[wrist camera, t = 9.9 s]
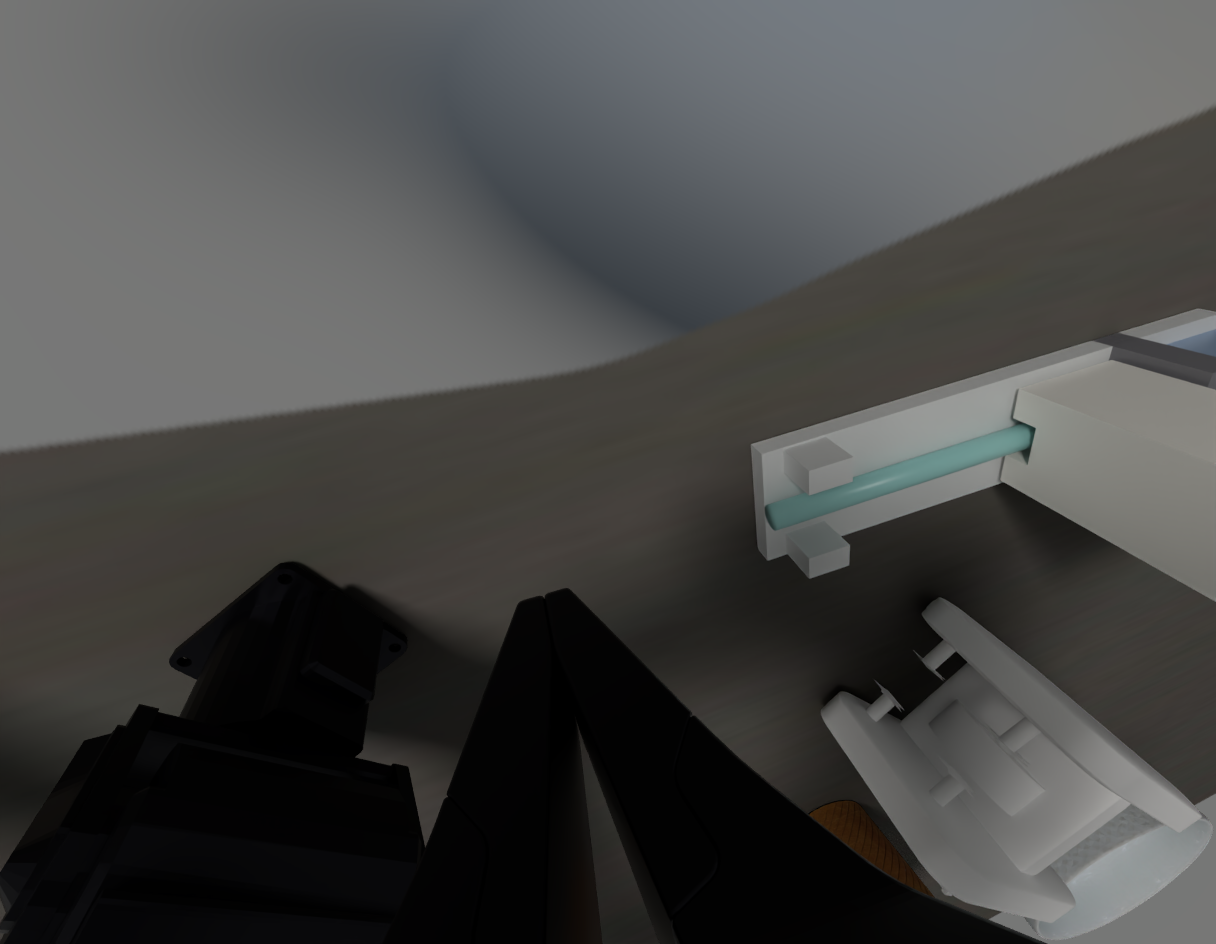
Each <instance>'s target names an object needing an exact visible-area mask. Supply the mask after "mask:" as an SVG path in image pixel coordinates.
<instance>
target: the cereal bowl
mask: <svg viewBox="0 0 1216 944" xmlns="http://www.w3.org/2000/svg"><path fill="white" fill-rule="evenodd" d="M1199 812H1200V811H1199ZM1200 813H1201V812H1200ZM1201 815H1202V817H1201V818H1200V819H1199V820H1197V821H1196V822H1194V823H1193V824H1192V825H1190V826H1189V827H1187V828H1186V829H1185V830H1183V831H1182V832H1180V833H1179V832H1176V831H1174V830H1172V829H1171V828H1169V827H1167V826H1166V825H1164V824H1163V823H1161V822H1159V821H1158V820H1156V819H1155V818H1153V817H1151V816H1150V815H1148V814H1147V813H1145V812H1143V811H1142V810H1140V809H1139V808H1137V807H1135V806H1134V805H1132V804H1130V805H1129V806H1128V807H1127V808H1126V809H1124V810H1123V811H1122V812H1120V813H1119V814H1118V815H1116V816H1115V817H1114V818H1112V819H1111V820H1110V821H1108V822H1107V823H1105V824H1104V825H1103V826H1101V827H1100V828H1099V829H1097V830H1096V831H1095V832H1093V833H1092V834H1091V835H1089V836H1088V837H1087V838H1085V839H1084V840H1083V841H1081V842H1080V843H1078V844H1077V845H1076V846H1074V847H1073V848H1072V849H1070V850H1069V851H1068V852H1066V853H1065V854H1064V855H1062V856H1061V857H1060V858H1058V859H1057V860H1056V861H1054V862H1053V863H1052V864H1050V866H1051V867H1052V868H1053V869H1054V870H1055V872H1056V873H1057V874H1058V875H1059V876H1060V877H1061V879H1062V880H1063V881H1064V883H1065V884H1066V885H1067V887H1068V888H1069V890H1070V891H1071V893H1072V895H1073V897H1074V899H1075V902H1076V906H1075V907H1074V908H1073V909H1071V910H1070V911H1068V912H1067V913H1066V914H1064V915H1063V916H1061V917H1060V918H1059V919H1057V920H1056V921H1054V922H1053V923H1048V922H1044V921H1039V920H1035V919H1031V918H1027V917H1024V918H1025V919H1026V921H1027V922H1028V923H1029V924H1030V926H1031V927H1032V929H1033V930H1034V931H1035V932H1036V933H1037V934H1038V935H1039V936H1040V937H1042V938H1045V939H1048V940H1062V939H1067V938H1072V937H1076V936H1078V935H1082V934H1085V933H1087V932H1090V931H1093V930H1095V929H1097V928H1099V927H1101V926H1103V925H1106V924H1108V923H1109V922H1111V921H1113V920H1115V919H1117V918H1119V917H1120V916H1122V915H1124V914H1126V913H1128V912H1129V911H1131V910H1132V909H1134V908H1136V907H1137V906H1139V905H1140V904H1142V903H1143V902H1145V901H1146V900H1148V899H1149V898H1151V897H1152V896H1153V895H1155V894H1156V893H1157V892H1159V891H1160V890H1161V889H1163V888H1164V887H1165V886H1167V885H1168V884H1169V883H1170V882H1172V881H1173V880H1174V879H1175V878H1176V877H1177V876H1179V875H1180V874H1181V873H1182V872H1183V871H1184V870H1185V869H1186V868H1187V867H1189V866H1190V865H1191V863H1192V862H1193V861H1194V860H1195V859H1196V858H1197V857H1198V856H1199V855H1200V854H1201V852H1202V851H1203V849H1204V848H1205V847H1206V846H1207V844H1208V842H1209V841H1210V838H1211V836H1212V832H1213V826H1212V823H1211V822H1210V821H1209V820H1208V819H1207V817H1206V816H1205V815H1203V814H1202V813H1201Z"/></svg>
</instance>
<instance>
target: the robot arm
mask: <svg viewBox="0 0 1216 944" xmlns="http://www.w3.org/2000/svg"><path fill="white" fill-rule="evenodd" d="M281 574H288V575H290V576H291V578H285V577H283V576H282V575H281ZM407 642H408V640H407V637H406V636H405V635H404V634H402V633H401V632H399V631H398V630H396V629H395V628H393V627H392V626H390V625H388V624H387V623H385V622H384V621H383V620H382V619H381V618H380V617H378V616H377V615H375V614H373V613H372V612H370V611H369V610H367V609H366V608H364V607H363V606H361V605H360V604H358V603H357V602H355V601H353V600H352V599H350V598H349V597H347V596H346V595H344V594H343V593H341V592H340V591H338V590H335V589H333V588H331V587H330V586H328V585H327V584H325V583H324V582H322V581H321V580H319V579H317V578H316V577H314V576H313V575H311V574H310V573H308V572H307V571H305V570H304V569H302V568H300V567H299V566H297V565H295V564H293V563H288V562H285V563H280V564H279V565H277V566H275V567H274V568H273V569H272V570H271V571H269V572H268V573H267V574H266V575H264V576H263V577H262V578H261V579H260V580H258V581H257V582H256V583H255V584H254V585H252V586H251V587H250V588H249V589H248V590H246V591H245V592H244V593H243V594H241V595H240V596H239V597H238V598H237V599H235V600H234V601H233V602H232V603H231V604H229V605H228V606H227V607H226V608H225V609H223V610H222V611H221V612H220V613H219V614H217V615H216V616H215V617H214V618H212V619H211V620H210V621H209V622H208V623H206V624H205V625H204V626H203V627H202V628H200V629H199V630H198V631H197V632H196V633H194V634H193V635H192V636H191V637H189V638H188V639H187V640H186V641H185V642H183V643H182V644H181V645H180V646H179V647H177V648H176V649H175V651H174V652H173V654H172V656H171V657H170V659H169V663H170V665H171V667H173V668H174V669H176V670H178V671H180V672H182V673H184V674H186V675H188V676H190V677H192V678H195V679H197V681H196V683H195V685H194V687H193V689H192V691H191V694H190V696H189V698H188V700H187V702H186V704H185V706H184V708H183V710H182V712H181V714H180V716H179V717H177V716H173V715H169V714H164V713H160V712H158V710H159V708H154V707H150V706H146V705H142V704H139V705H138V707H137V708H136V710H135V712H134V713H133V715H132V716H131V718H130V719H129V721H128V723H127V724H126V726H122V725H117V727H116V728H115V730H113V732H112V733H111V734H108V735H104V736H100V737H96V738H92V739H88V740H84V742H83V743H82V745H81V747H80V748H79V750H78V751H77V753H76V754H75V756H74V758H73V759H72V761H71V762H70V764H69V766H68V767H67V769H66V770H65V772H64V774H63V775H62V777H61V778H60V780H59V782H58V783H57V785H56V786H55V788H54V789H53V791H52V793H51V794H50V796H49V797H48V799H47V800H46V802H45V803H44V805H43V807H42V808H41V810H40V811H39V813H38V814H37V816H36V817H35V819H34V820H33V822H32V824H31V825H30V827H29V828H28V830H27V831H26V833H25V834H24V836H23V837H22V839H21V840H20V842H19V844H18V845H17V847H16V848H15V850H14V851H13V853H12V854H11V856H10V858H9V859H8V861H7V862H6V864H5V866H4V867H3V869H2V870H1V872H0V898H1V901H2V904H3V906H4V909H5V912H6V914H5V915H4V917H3V919H2V921H1V923H0V933H4V935H3V937H2V939H1V941H0V944H602V935H601V926H600V917H599V909H598V900H597V891H596V882H595V873H594V864H593V856H592V847H591V838H590V829H589V820H588V811H587V803H586V794H585V785H584V776H583V767H582V758H581V750H580V741H579V734H578V728H577V724H578V727H579V730H580V733H581V736H582V739H583V742H584V744H585V747H586V750H587V752H588V755H589V758H590V760H591V763H592V765H593V768H594V771H595V773H596V776H597V779H598V781H599V784H600V787H601V789H602V792H603V795H604V797H605V800H606V803H607V805H608V808H609V811H610V813H611V816H612V819H613V821H614V824H615V826H616V829H617V832H618V834H619V837H620V840H621V842H622V845H623V848H624V850H625V853H626V856H627V858H628V861H629V864H630V866H631V869H632V872H633V874H634V877H635V879H636V882H637V885H638V887H639V890H640V893H641V895H642V898H643V901H644V903H645V906H646V909H647V911H648V914H649V917H650V919H651V922H652V925H653V927H654V930H655V932H656V935H657V938H658V940H659V943H660V944H1047V943H1044V942H1042V941H1039V940H1036V939H1034V938H1032V937H1030V936H1027V935H1025V934H1022V933H1020V932H1017V931H1015V930H1013V929H1010V928H1007V927H1005V926H1003V925H1000V924H998V923H995V922H993V921H990V920H988V919H986V918H983V917H981V916H978V915H976V914H973V913H971V912H968V911H966V910H963V909H961V908H959V907H956V906H954V905H951V904H949V903H946V902H944V901H941V900H939V899H937V898H934V897H932V896H929V895H927V894H924V893H922V892H920V891H918V890H916V889H914V888H912V887H910V886H908V885H906V884H904V883H902V882H900V881H898V880H897V879H895V878H894V877H892V876H890V875H889V874H887V873H885V872H884V871H882V870H881V869H879V868H878V867H877V866H875V865H874V864H872V863H871V862H869V861H868V860H867V859H865V858H864V857H863V856H861V855H860V854H859V853H857V852H856V851H855V850H853V849H852V848H851V847H850V846H848V845H847V844H846V843H844V842H843V841H842V840H841V839H839V838H838V837H837V836H836V835H834V834H833V833H832V832H830V831H829V830H828V829H827V828H825V827H824V826H823V825H822V824H820V823H819V822H818V821H816V820H815V819H814V818H813V817H811V816H810V815H809V814H808V813H806V812H805V811H804V810H803V809H801V808H800V807H799V806H797V805H796V804H795V803H794V802H792V801H791V800H790V799H789V798H787V797H786V796H785V795H783V794H782V793H781V792H780V791H778V790H777V789H776V788H775V787H773V786H772V785H771V784H770V783H768V782H767V781H766V780H765V779H764V778H762V777H761V776H760V775H759V774H758V773H756V772H755V771H754V770H753V769H752V768H750V767H749V766H748V765H747V764H746V763H744V762H743V761H742V760H741V759H740V758H739V757H737V756H736V755H735V754H734V753H733V752H732V751H731V750H730V749H729V748H728V747H727V746H726V745H725V744H724V743H723V742H722V741H721V740H720V739H718V738H717V737H716V736H715V735H714V734H713V733H712V732H711V731H710V730H709V729H708V728H707V727H706V726H705V725H704V724H703V723H702V722H701V721H700V720H699V719H698V718H697V717H696V716H692V712H691V711H690V710H689V709H688V708H687V707H686V706H685V705H684V704H683V703H682V702H681V701H680V700H679V699H678V698H677V697H676V696H675V695H674V694H673V693H672V692H671V691H670V690H669V689H668V688H667V687H666V686H665V685H664V684H663V683H662V682H661V681H660V680H659V679H658V678H657V677H656V676H655V675H654V674H653V673H652V672H651V671H650V670H649V668H648V667H647V666H646V665H645V664H644V663H643V662H642V661H641V660H640V659H639V658H638V657H637V656H636V655H635V654H634V653H633V652H632V651H631V650H630V649H629V648H628V647H627V646H626V645H625V644H624V643H623V642H622V641H621V640H620V639H619V638H618V637H617V636H616V635H615V634H614V633H613V632H612V631H611V630H610V629H609V628H608V627H607V626H606V625H605V624H604V623H603V622H602V621H601V620H600V619H599V618H598V617H597V616H596V615H595V614H594V613H593V612H592V611H591V610H590V609H589V608H588V607H587V606H586V605H585V604H584V603H583V602H582V601H581V600H580V599H579V598H578V597H577V596H576V595H575V594H574V593H573V592H572V591H571V590H570V589H569V588H564V589H560V590H557V591H553V592H550V593H547V594H546V595H545V599H544V597H543V596H536V597H533V598H529V599H526V600H523V601H520V602H519V603H518V605H517V607H516V610H515V612H514V615H513V618H512V620H511V623H510V626H509V628H508V631H507V634H506V636H505V639H504V642H503V644H502V647H501V650H500V652H499V655H498V658H497V660H496V663H495V666H494V668H493V671H492V674H491V676H490V679H489V682H488V684H487V687H486V690H485V692H484V695H483V698H482V700H481V703H480V706H479V708H478V711H477V714H476V716H475V719H474V722H473V724H472V727H471V730H470V732H469V735H468V738H467V740H466V743H465V746H464V748H463V751H462V754H461V756H460V759H459V762H458V764H457V767H456V770H455V772H454V775H453V778H452V780H451V783H450V786H449V788H448V791H447V795H448V797H446V798H445V799H444V801H443V804H442V806H441V809H440V812H439V814H438V817H437V820H436V823H435V825H434V828H433V830H432V833H431V835H430V838H429V840H428V843H427V845H426V848H425V845H424V840H423V835H422V830H421V826H420V821H419V816H418V811H417V806H416V802H415V797H414V792H413V787H412V782H411V777H410V773H409V768H408V767H407V766H403V765H399V764H392V765H391V766H390V765H385V764H381V763H377V762H372V761H368V760H364V759H359V758H355V756H357V755H358V754H359V753H361V751H362V750H363V744H364V736H365V729H366V722H367V715H368V708H369V702H370V701H371V700H373V698H374V693H375V685H376V678H377V674H378V673H379V672H380V671H382V670H383V669H384V668H385V667H387V666H388V665H389V664H391V663H392V662H393V661H394V660H396V659H397V658H398V657H400V656H401V655H402V654H403V653H404V652H405V651H406V649H407ZM395 643H397V644H399V645H396V646H394V645H391V644H395ZM183 657H186V658H189V659H184V658H183ZM575 717H576V718H575ZM576 720H577V723H576Z"/></svg>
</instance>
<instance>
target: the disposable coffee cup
mask: <svg viewBox="0 0 1216 944" xmlns="http://www.w3.org/2000/svg"><path fill="white" fill-rule="evenodd" d="M809 815H810V816H811V817H813V818H814V819H815V820H816V821H818V822H819V823H820V824H822V825H823V826H824V827H825V828H827V829H828V830H829V831H830V832H832V833H833V834H834V835H836V836H837V837H838V838H839V839H841V840H842V841H843V842H844V843H846V844H847V845H848V846H850V847H851V848H852V849H853V850H855V851H856V852H857V853H859V854H860V855H861V856H863V857H864V858H865V859H867V860H868V861H869V862H871V863H872V864H874V865H875V866H877V867H878V868H879V869H881V870H882V871H884V872H885V873H887V874H889V875H890V876H892V877H894V878H895V879H897V880H898V881H900V882H902V883H904V884H906V885H908V886H910V887H912V888H914V889H916V890H918V891H920V892H922V893H924V894H927V895H929V896H932V897H934V896H933V895H932V893H931V892H930V891H929V890H928V888H927V887H926V886H925V885H924V884H923V882H922V881H921V880H920V879H919V877H918V876H917V875H916V874H915V872H914V871H913V870H912V869H911V867H910V866H909V865H908V864H907V863H906V861H905V860H904V859H903V858H902V856H901V855H900V854H899V853H898V851H897V850H896V849H895V848H894V846H893V845H892V844H891V843H890V842H889V840H888V839H887V838H886V837H885V835H884V834H883V833H882V832H881V830H880V829H879V828H878V827H877V826H876V824H875V823H874V822H873V821H872V819H871V818H870V817H869V816H868V814H867V813H866V812H865V811H864V809H863V808H862V807H861V806H860V805H859V804H858V803H856V802H853V801H839V802H834V803H831V804H828V805H825V806H823V807H821V808H819V809H817V810H815V811H813V812H812V813H810V814H809ZM934 898H935V897H934Z"/></svg>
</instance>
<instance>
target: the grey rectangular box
mask: <svg viewBox="0 0 1216 944" xmlns="http://www.w3.org/2000/svg"><path fill="white" fill-rule="evenodd" d="M1013 418H1014V419H1016V420H1019V421H1021V422H1023V423H1026V424H1028V425H1030V426H1032V427H1035V428H1036V431H1035V435H1034V439H1033V444H1032V447H1031V448H1028V449H1025V450H1022V451H1019V452H1016V453H1013V454H1010V455H1006V456H1005V460H1004V465H1003V469H1002V474H1001V479H1000V480H1001V481H1002V482H1004V483H1006V484H1008V485H1010V486H1011V487H1013V488H1015V489H1017V490H1018V491H1020V492H1022V493H1024V494H1026V495H1027V496H1029V497H1031V498H1033V499H1034V500H1036V501H1038V502H1040V503H1041V504H1043V505H1045V506H1047V507H1049V508H1050V509H1052V510H1054V511H1056V512H1057V513H1059V514H1061V515H1063V516H1065V517H1066V518H1068V519H1070V520H1072V521H1073V522H1075V523H1077V524H1079V525H1081V526H1082V527H1084V528H1086V529H1088V530H1089V531H1091V532H1093V533H1095V534H1096V535H1098V536H1100V537H1102V538H1104V539H1105V540H1107V541H1109V542H1111V543H1112V544H1114V545H1116V546H1118V547H1120V548H1121V549H1123V550H1125V551H1127V552H1128V553H1130V554H1132V555H1134V556H1136V557H1137V558H1139V559H1141V560H1143V561H1144V562H1146V563H1148V564H1150V565H1151V566H1153V567H1155V568H1157V569H1159V570H1160V571H1162V572H1164V573H1166V574H1167V575H1169V576H1171V577H1173V578H1175V579H1176V580H1178V581H1180V582H1182V583H1183V584H1185V585H1187V586H1189V587H1191V588H1192V589H1194V590H1196V591H1198V592H1199V593H1201V594H1203V595H1205V596H1206V597H1208V598H1210V599H1212V600H1214V601H1215V602H1216V390H1215V389H1211V388H1208V387H1204V386H1201V385H1197V384H1194V383H1190V382H1187V381H1183V380H1180V379H1176V378H1173V377H1170V376H1166V375H1163V374H1159V373H1156V372H1152V371H1149V370H1145V369H1142V368H1138V367H1135V366H1131V365H1128V364H1125V363H1121V362H1118V361H1114V360H1110V361H1106V362H1103V363H1100V364H1097V365H1093V366H1090V367H1087V368H1084V369H1081V370H1077V371H1074V372H1071V373H1068V374H1064V375H1061V376H1058V377H1055V378H1052V379H1048V380H1045V381H1042V382H1039V383H1035V384H1032V385H1029V386H1026V387H1023V388H1019V391H1018V396H1017V401H1016V406H1015V411H1014V416H1013Z"/></svg>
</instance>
